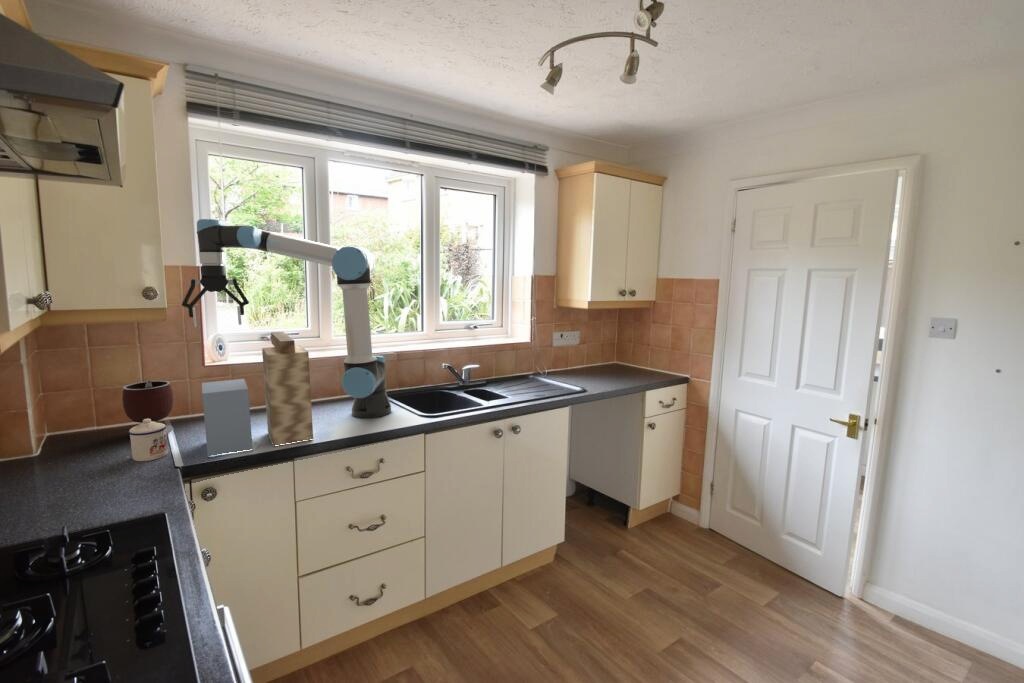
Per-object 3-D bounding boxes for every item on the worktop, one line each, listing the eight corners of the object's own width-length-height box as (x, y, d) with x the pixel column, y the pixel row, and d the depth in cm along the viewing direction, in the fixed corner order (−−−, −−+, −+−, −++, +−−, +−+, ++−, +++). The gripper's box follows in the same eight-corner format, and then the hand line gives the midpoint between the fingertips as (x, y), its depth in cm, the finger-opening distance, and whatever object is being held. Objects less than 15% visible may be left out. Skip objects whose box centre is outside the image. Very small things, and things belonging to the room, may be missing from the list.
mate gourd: (124, 432, 171) (118, 376, 168) (172, 424, 180) (167, 370, 177) (129, 444, 160) (122, 384, 157) (180, 434, 169) (174, 377, 166)
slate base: (248, 436, 168) (244, 378, 165) (252, 450, 155) (248, 388, 152) (207, 442, 162) (202, 383, 159) (207, 458, 148) (202, 393, 145)
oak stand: (304, 427, 177) (300, 345, 173) (313, 440, 164) (308, 351, 160) (267, 433, 171) (262, 348, 167) (273, 447, 158) (267, 355, 153)
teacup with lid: (155, 462, 145) (151, 424, 143) (124, 462, 145) (119, 424, 143) (181, 447, 157) (178, 412, 155) (152, 447, 157) (149, 412, 155)
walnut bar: (283, 342, 179) (282, 331, 179) (295, 352, 158) (294, 340, 157) (271, 343, 177) (270, 332, 177) (281, 353, 155) (280, 341, 155)
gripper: (252, 265, 181) (256, 322, 184) (169, 265, 168) (176, 326, 171) (254, 265, 175) (258, 324, 178) (168, 264, 162) (175, 328, 165)
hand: (218, 325), depth 174 cm, fingers open, 13 cm apart
